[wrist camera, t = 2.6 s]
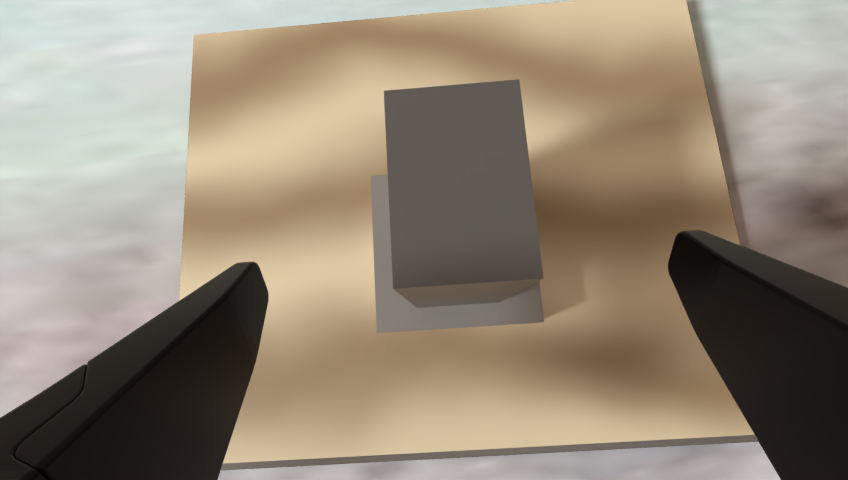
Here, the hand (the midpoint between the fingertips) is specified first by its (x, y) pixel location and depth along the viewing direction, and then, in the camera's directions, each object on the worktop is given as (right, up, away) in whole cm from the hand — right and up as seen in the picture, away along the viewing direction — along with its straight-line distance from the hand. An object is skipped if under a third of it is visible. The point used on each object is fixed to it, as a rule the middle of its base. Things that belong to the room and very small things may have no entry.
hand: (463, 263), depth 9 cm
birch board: (0, +2, +10) cm, 10 cm away
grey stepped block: (0, 0, +9) cm, 8 cm away
